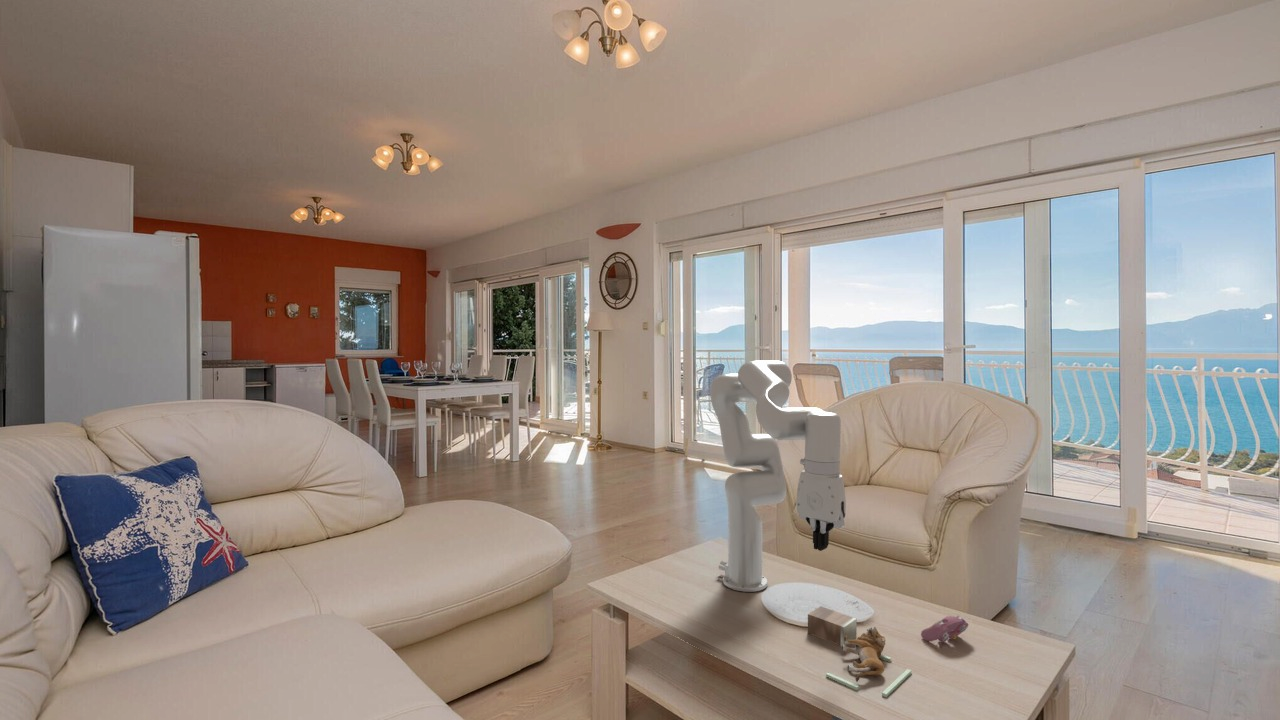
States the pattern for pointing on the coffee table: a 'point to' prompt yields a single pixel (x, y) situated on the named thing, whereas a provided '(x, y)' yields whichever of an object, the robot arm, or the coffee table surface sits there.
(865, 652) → the lion figurine
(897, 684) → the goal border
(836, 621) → the walnut block
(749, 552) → the robot arm
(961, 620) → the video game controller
